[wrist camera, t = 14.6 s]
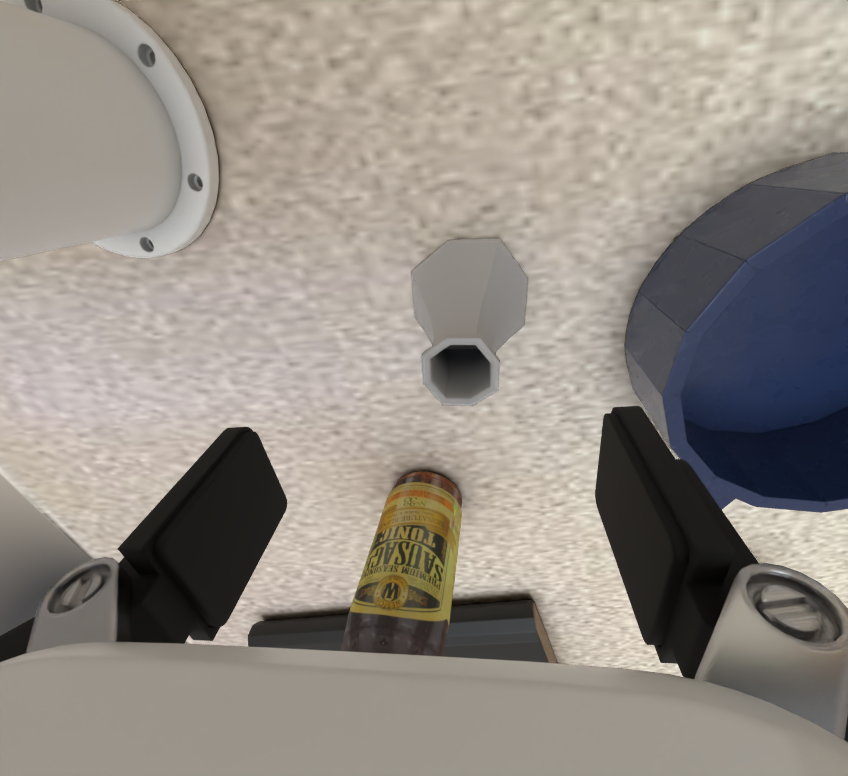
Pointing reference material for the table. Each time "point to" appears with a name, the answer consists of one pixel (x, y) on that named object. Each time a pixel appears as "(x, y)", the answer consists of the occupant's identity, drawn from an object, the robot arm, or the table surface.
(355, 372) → the table surface
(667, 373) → the pot
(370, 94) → the table surface
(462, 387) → the flask
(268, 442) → the table surface
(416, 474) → the sauce bottle
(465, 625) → the file folder
